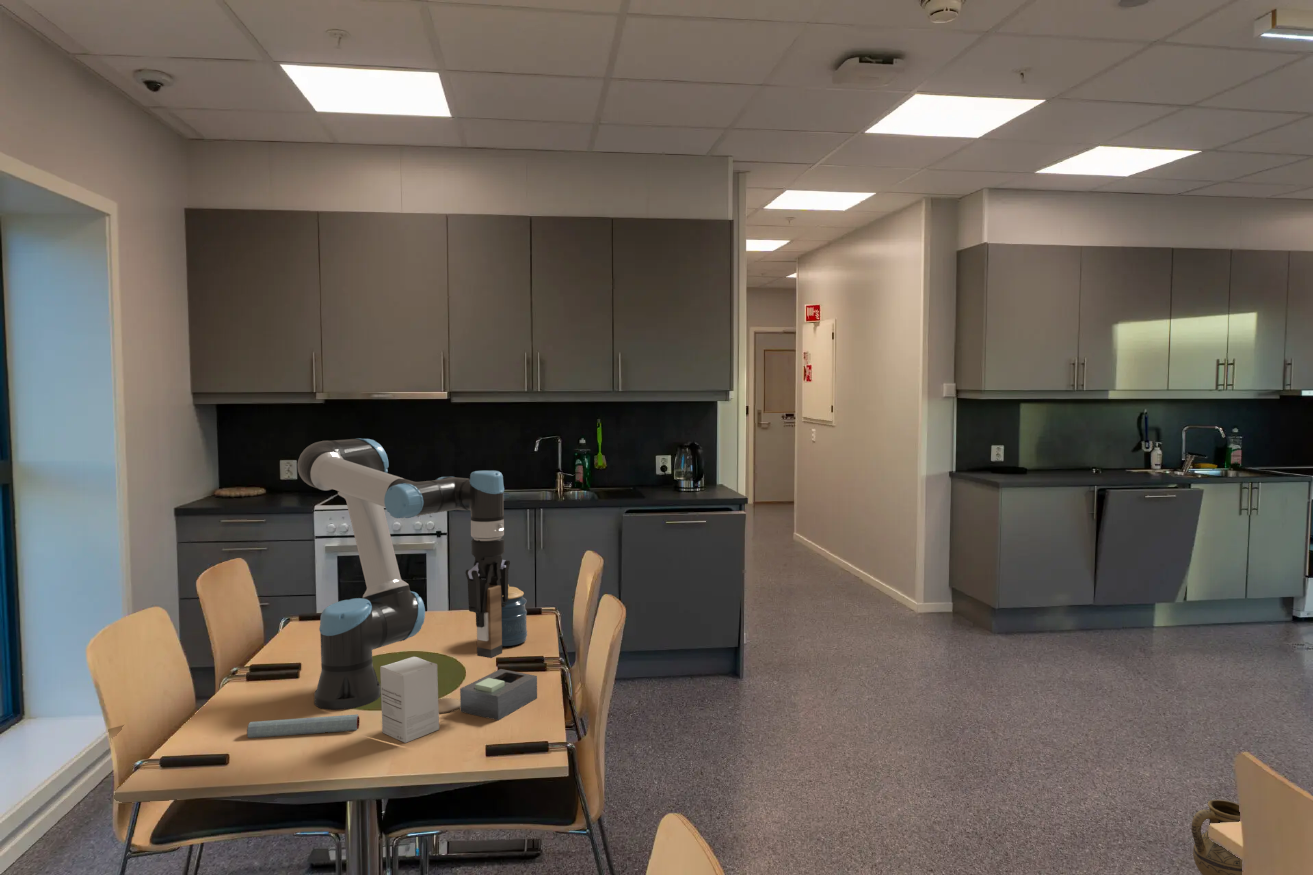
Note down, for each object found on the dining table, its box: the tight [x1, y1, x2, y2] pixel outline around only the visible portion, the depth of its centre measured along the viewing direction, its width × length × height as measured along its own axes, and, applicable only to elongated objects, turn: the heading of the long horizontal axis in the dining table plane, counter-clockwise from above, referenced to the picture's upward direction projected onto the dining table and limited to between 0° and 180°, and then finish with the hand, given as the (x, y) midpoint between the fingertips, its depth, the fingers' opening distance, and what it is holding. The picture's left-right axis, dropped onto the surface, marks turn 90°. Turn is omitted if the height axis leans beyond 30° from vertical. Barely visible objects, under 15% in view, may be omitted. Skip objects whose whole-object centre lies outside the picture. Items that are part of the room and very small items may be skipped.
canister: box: [502, 583, 528, 647], centre depth 244 cm, size 13×13×18 cm
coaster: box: [438, 697, 461, 715], centre depth 193 cm, size 8×8×1 cm
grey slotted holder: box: [459, 668, 538, 721], centre depth 194 cm, size 11×15×6 cm
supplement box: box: [379, 656, 440, 744], centre depth 179 cm, size 9×9×15 cm
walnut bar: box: [476, 585, 503, 659], centre depth 190 cm, size 4×4×16 cm
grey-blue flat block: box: [246, 713, 361, 739], centre depth 181 cm, size 23×7×3 cm, turn 100°
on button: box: [475, 678, 505, 693], centre depth 191 cm, size 5×5×2 cm
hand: (489, 637), depth 190 cm, fingers closed on walnut bar, 4 cm apart
